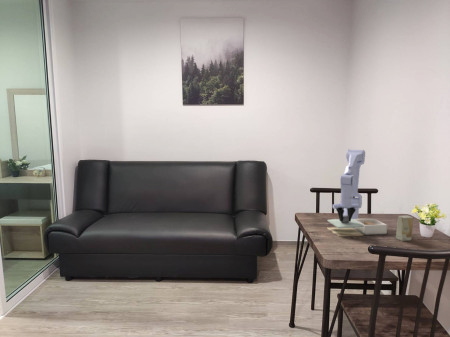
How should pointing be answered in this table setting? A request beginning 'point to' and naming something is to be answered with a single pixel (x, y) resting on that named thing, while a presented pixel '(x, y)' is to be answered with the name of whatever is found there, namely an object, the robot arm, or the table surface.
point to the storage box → (371, 226)
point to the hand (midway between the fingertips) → (344, 221)
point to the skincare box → (404, 228)
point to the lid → (345, 223)
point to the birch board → (344, 231)
